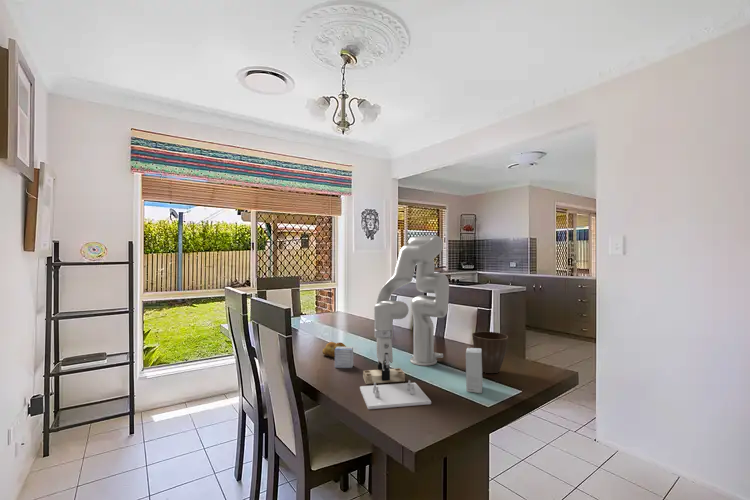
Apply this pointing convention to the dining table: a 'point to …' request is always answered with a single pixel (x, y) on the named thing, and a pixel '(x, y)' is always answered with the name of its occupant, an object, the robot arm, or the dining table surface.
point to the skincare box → (474, 370)
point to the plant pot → (491, 349)
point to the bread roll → (332, 348)
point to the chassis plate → (393, 395)
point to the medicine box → (343, 357)
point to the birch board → (376, 376)
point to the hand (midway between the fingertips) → (383, 376)
